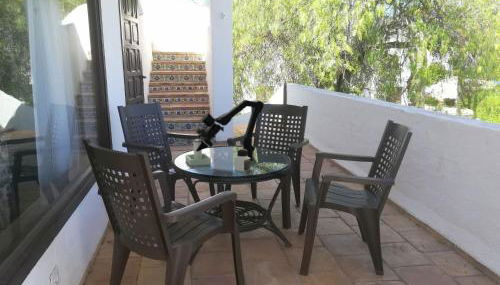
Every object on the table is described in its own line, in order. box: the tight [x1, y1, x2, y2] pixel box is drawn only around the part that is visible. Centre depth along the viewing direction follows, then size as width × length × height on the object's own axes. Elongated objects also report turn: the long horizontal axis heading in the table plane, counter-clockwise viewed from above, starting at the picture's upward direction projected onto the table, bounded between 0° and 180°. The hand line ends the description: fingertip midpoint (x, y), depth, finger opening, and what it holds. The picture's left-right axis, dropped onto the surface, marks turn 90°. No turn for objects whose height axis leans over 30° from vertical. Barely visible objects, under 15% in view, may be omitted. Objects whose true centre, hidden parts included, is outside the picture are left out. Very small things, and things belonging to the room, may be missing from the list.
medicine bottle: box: [233, 148, 252, 173], centre depth 231 cm, size 7×7×12 cm
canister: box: [192, 138, 203, 159], centre depth 244 cm, size 5×5×13 cm
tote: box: [185, 152, 212, 168], centre depth 245 cm, size 15×13×4 cm
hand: (195, 150), depth 243 cm, fingers closed on canister, 5 cm apart
